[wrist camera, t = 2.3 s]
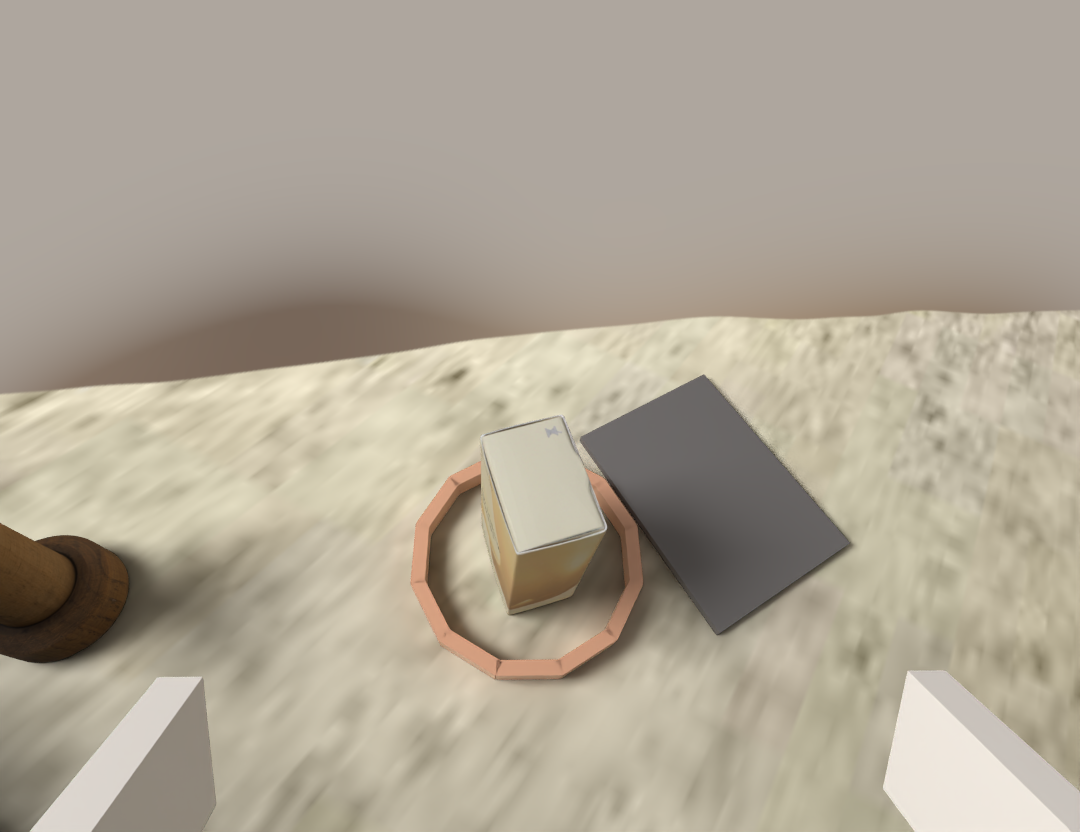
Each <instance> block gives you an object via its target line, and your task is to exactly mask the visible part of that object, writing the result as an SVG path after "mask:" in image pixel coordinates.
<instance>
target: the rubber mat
mask: <svg viewBox="0 0 1080 832" xmlns="http://www.w3.org/2000/svg"><path fill="white" fill-rule="evenodd" d="M580 442H581V443H582V445H583V446H584V448H585V449H586V451H587V452H588V453H589V455H590V456H591V458H592V459H593V460H594V462H595V463H596V465H597V466H598V468H599V469H600V470H601V472H602V473H603V475H604V476H605V477H606V479H607V480H608V482H609V483H610V485H611V486H612V487H613V489H614V490H615V492H616V493H617V494H618V496H619V497H620V499H621V500H622V502H623V503H624V504H625V506H626V507H627V509H628V510H629V512H630V513H631V514H632V516H633V517H634V519H635V520H636V521H637V523H638V524H639V526H640V527H641V529H642V530H643V531H644V533H645V534H646V536H647V537H648V538H649V540H650V541H651V543H652V544H653V546H654V547H655V548H656V550H657V551H658V553H659V554H660V555H661V557H662V558H663V560H664V561H665V563H666V564H667V565H668V567H669V568H670V570H671V571H672V572H673V574H674V575H675V577H676V578H677V580H678V581H679V582H680V584H681V585H682V587H683V588H684V589H685V591H686V592H687V594H688V595H689V597H690V598H691V599H692V601H693V602H694V604H695V605H696V606H697V608H698V609H699V611H700V612H701V614H702V615H703V616H704V618H705V619H706V621H707V622H708V624H709V625H710V626H711V628H712V629H713V631H714V632H715V633H716V635H718V634H719V633H721V632H722V631H724V630H725V629H727V628H728V627H729V626H731V625H732V624H734V623H735V622H737V621H738V620H740V619H741V618H742V617H744V616H745V615H747V614H748V613H750V612H751V611H753V610H754V609H756V608H757V607H758V606H760V605H761V604H763V603H764V602H766V601H767V600H769V599H770V598H771V597H773V596H774V595H776V594H777V593H779V592H780V591H782V590H783V589H784V588H786V587H787V586H789V585H790V584H792V583H793V582H795V581H796V580H797V579H799V578H800V577H802V576H803V575H805V574H806V573H808V572H809V571H810V570H812V569H813V568H815V567H816V566H818V565H819V564H821V563H822V562H824V561H825V560H826V559H828V558H829V557H831V556H832V555H834V554H835V553H837V552H838V551H839V550H841V549H842V548H844V547H845V546H847V545H848V544H850V542H849V541H848V540H847V539H846V538H845V537H844V535H843V534H842V533H841V532H840V531H839V530H838V529H837V527H836V526H835V525H834V524H833V523H832V522H831V520H830V519H829V518H828V517H827V516H826V515H825V514H824V512H823V511H822V510H821V509H820V508H819V507H818V505H817V504H816V503H815V502H814V501H813V500H812V499H811V497H810V496H809V495H808V494H807V493H806V492H805V490H804V489H803V488H802V487H801V486H800V485H799V484H798V482H797V481H796V480H795V479H794V478H793V477H792V475H791V474H790V473H789V472H788V471H787V470H786V469H785V467H784V466H783V465H782V464H781V463H780V462H779V460H778V459H777V458H776V457H775V456H774V455H773V454H772V452H771V451H770V450H769V449H768V448H767V447H766V445H765V444H764V443H763V442H762V441H761V440H760V439H759V437H758V436H757V435H756V434H755V433H754V432H753V430H752V429H751V428H750V427H749V426H748V425H747V424H746V422H745V421H744V420H743V419H742V418H741V417H740V415H739V414H738V413H737V412H736V411H735V410H734V409H733V407H732V406H731V405H730V404H729V403H728V402H727V400H726V399H725V398H724V397H723V396H722V395H721V394H720V392H719V391H718V390H717V389H716V388H715V387H714V385H713V384H712V383H711V382H710V381H709V380H708V379H707V377H706V376H705V375H702V376H700V377H698V378H696V379H694V380H692V381H690V382H688V383H686V384H684V385H682V386H680V387H678V388H676V389H674V390H672V391H670V392H668V393H666V394H664V395H662V396H660V397H658V398H656V399H654V400H653V401H651V402H649V403H647V404H645V405H643V406H641V407H639V408H637V409H635V410H633V411H631V412H629V413H627V414H625V415H623V416H621V417H619V418H617V419H615V420H613V421H611V422H609V423H607V424H605V425H603V426H601V427H599V428H597V429H595V430H593V431H592V432H590V433H588V434H586V435H584V436H582V437H581V438H580Z"/></svg>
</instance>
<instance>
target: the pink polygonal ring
mask: <svg viewBox="0 0 1080 832" xmlns="http://www.w3.org/2000/svg"><path fill="white" fill-rule="evenodd" d="M585 469H586V468H585ZM586 472H587V475H588V477H589V480H590V482H591V485H592V488H593V490H594V493H595V495H596V498H597V501H598V503H599V506H600V507H601V509H602V510H603V512H604V513H605V514H606V516H607V517H608V519H609V520H610V522H611V523H612V525H613V526H614V528H615V529H616V531H617V532H618V534H619V535H620V537H621V548H622V559H623V570H624V581H625V588H624V590H623V592H622V594H621V596H620V598H619V600H618V603H617V605H616V607H615V609H614V611H613V613H612V615H611V617H610V619H609V621H608V624H607V626H606V628H605V630H604V631H602V632H601V633H599V634H598V635H596V636H594V637H593V638H591V639H590V640H588V641H587V642H585V643H583V644H582V645H580V646H579V647H577V648H576V649H574V650H573V651H571V652H569V653H568V654H566V655H565V656H563V657H562V658H560V659H558V660H499V659H497V658H496V657H494V656H492V655H491V654H489V653H487V652H486V651H484V650H483V649H481V648H479V647H478V646H476V645H474V644H473V643H471V642H469V641H468V640H466V639H464V638H463V637H461V636H460V635H458V634H456V633H455V632H453V631H451V630H450V629H449V627H448V625H447V623H446V621H445V619H444V617H443V615H442V613H441V611H440V609H439V607H438V605H437V603H436V601H435V599H434V597H433V595H432V593H431V591H430V589H429V587H428V585H427V583H428V570H429V557H430V544H431V535H432V533H433V532H434V531H435V529H436V528H437V526H438V525H439V523H440V522H441V520H442V519H443V517H444V516H445V515H446V513H447V512H448V510H449V509H450V507H451V506H452V504H453V503H454V501H455V500H456V499H457V497H458V496H459V494H461V493H463V492H465V491H467V490H469V489H471V488H473V487H475V486H477V485H479V484H481V461H480V462H478V463H476V464H474V465H472V466H470V467H468V468H465V469H463V470H461V471H459V472H457V473H455V474H453V475H451V476H450V477H449V478H448V479H447V480H446V482H445V483H444V485H443V486H442V487H441V489H440V490H439V492H438V493H437V494H436V496H435V497H434V499H433V500H432V502H431V503H430V504H429V506H428V507H427V509H426V510H425V511H424V513H423V514H422V516H421V517H420V518H419V520H418V521H417V523H416V528H415V539H414V550H413V561H412V572H411V586H412V588H413V591H414V593H415V595H416V597H417V599H418V601H419V603H420V605H421V607H422V609H423V611H424V613H425V615H426V617H427V619H428V621H429V623H430V625H431V627H432V629H433V631H434V633H435V635H436V637H437V639H438V641H439V644H440V646H442V647H443V648H445V649H446V650H448V651H450V652H451V653H453V654H455V655H456V656H458V657H459V658H461V659H463V660H464V661H466V662H467V663H469V664H471V665H472V666H474V667H476V668H477V669H479V670H480V671H482V672H484V673H485V674H487V675H488V676H490V677H492V678H493V679H496V680H526V679H561V678H563V677H564V676H566V675H567V674H569V673H570V672H572V671H573V670H575V669H577V668H578V667H580V666H581V665H583V664H584V663H586V662H587V661H589V660H590V659H592V658H593V657H595V656H596V655H598V654H600V653H601V652H603V651H604V650H606V649H607V648H609V647H610V646H612V645H613V644H614V643H615V642H616V641H617V640H618V638H619V635H620V633H621V631H622V629H623V627H624V625H625V622H626V620H627V618H628V616H629V614H630V612H631V609H632V607H633V605H634V603H635V601H636V599H637V596H638V594H639V592H640V590H641V588H642V586H643V574H642V564H641V555H640V546H639V536H638V527H637V524H636V522H635V521H634V519H633V518H632V517H631V515H630V514H629V512H628V511H627V510H626V508H625V507H624V505H623V504H622V502H621V501H620V500H619V498H618V497H617V495H616V494H615V493H614V491H613V490H612V488H611V487H610V485H609V484H608V483H607V481H606V480H605V479H604V478H603V477H601V476H599V475H597V474H595V473H593V472H591V471H590V470H588V469H586Z"/></svg>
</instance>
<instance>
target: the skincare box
mask: <svg viewBox="0 0 1080 832" xmlns="http://www.w3.org/2000/svg"><path fill="white" fill-rule="evenodd" d="M480 445H481V500H482V504H481V508H482V529H483V533H484V537H485V541H486V545H487V549H488V553H489V557H490V560H491V564H492V567H493V571H494V574H495V578H496V581H497V584H498V587H499V590H500V593H501V596H502V599H503V602H504V606H505V609H506V612H507V614H508V615H511V614H515V613H519V612H522V611H526V610H530V609H533V608H537V607H540V606H543V605H547V604H550V603H553V602H556V601H559V600H562V599H565V598H568V597H571V596H572V595H573V593H574V591H575V589H576V588H577V586H578V584H579V582H580V580H581V578H582V576H583V574H584V572H585V571H586V569H587V567H588V565H589V563H590V561H591V559H592V557H593V555H594V554H595V552H596V550H597V548H598V546H599V544H600V542H601V540H602V538H603V537H604V535H605V533H606V531H607V524H606V522H605V519H604V516H603V514H602V511H601V508H600V506H599V503H598V501H597V498H596V495H595V493H594V490H593V488H592V485H591V482H590V480H589V477H588V475H587V472H586V469H585V467H584V464H583V462H582V460H581V457H580V455H579V453H578V450H577V447H576V445H575V442H574V440H573V437H572V435H571V432H570V430H569V427H568V425H567V422H566V420H565V417H564V416H563V415H557V416H553V417H549V418H544V419H540V420H535V421H531V422H527V423H523V424H519V425H514V426H511V427H507V428H503V429H499V430H496V431H493V432H489V433H486V434H483V435H481V437H480Z"/></svg>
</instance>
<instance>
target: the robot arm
mask: <svg viewBox="0 0 1080 832" xmlns="http://www.w3.org/2000/svg"><path fill="white" fill-rule="evenodd" d="M883 789H884V791H885V792H886V793H887V795H888V796H889V797H890V799H891V800H892V801H893V803H894V804H895V805H896V807H897V808H898V810H899V811H900V812H901V814H902V815H903V816H904V818H905V819H906V820H907V822H908V823H909V824H910V826H911V827H912V828H913V830H914V831H915V832H1080V791H1079V790H1078V789H1076V788H1075V787H1074V786H1073V785H1072V784H1071V783H1070V782H1069V781H1068V780H1066V779H1065V778H1064V777H1063V776H1062V775H1061V774H1060V773H1059V772H1058V771H1056V770H1055V769H1054V768H1053V767H1052V766H1051V765H1050V764H1049V763H1048V762H1046V761H1045V760H1044V759H1043V758H1042V757H1041V756H1040V755H1039V754H1038V753H1036V752H1035V751H1034V750H1033V749H1032V748H1031V747H1030V746H1029V745H1028V744H1026V743H1025V742H1024V741H1023V740H1022V739H1021V738H1020V737H1019V736H1018V735H1016V734H1015V733H1014V732H1013V731H1012V730H1011V729H1010V728H1009V727H1008V726H1006V725H1005V724H1004V723H1003V722H1002V721H1001V720H1000V719H999V718H998V717H996V716H995V715H994V714H993V713H992V712H991V711H990V710H989V709H988V708H986V707H985V706H984V705H983V704H982V703H981V702H980V701H979V700H978V699H976V698H975V697H974V696H973V695H972V694H971V693H970V692H969V691H968V690H966V689H965V688H964V687H963V686H962V685H961V684H960V683H959V682H958V681H956V680H955V679H954V678H953V677H952V676H951V675H950V674H949V673H948V672H946V671H945V670H929V671H908V672H907V677H906V681H905V686H904V691H903V696H902V700H901V705H900V710H899V714H898V719H897V724H896V729H895V733H894V738H893V743H892V748H891V752H890V757H889V762H888V766H887V771H886V776H885V781H884V785H883ZM215 806H216V798H215V788H214V779H213V769H212V760H211V750H210V740H209V731H208V721H207V712H206V702H205V692H204V683H203V677H157V678H156V680H155V681H154V682H153V683H152V685H151V686H150V687H149V688H148V689H147V691H146V692H145V693H144V694H143V695H142V697H141V698H140V699H139V700H138V701H137V703H136V704H135V705H134V706H133V707H132V709H131V710H130V711H129V712H128V713H127V715H126V716H125V717H124V718H123V719H122V721H121V722H120V723H119V724H118V725H117V727H116V728H115V729H114V730H113V732H112V733H111V734H110V735H109V736H108V738H107V739H106V740H105V741H104V742H103V744H102V745H101V746H100V747H99V748H98V750H97V751H96V752H95V753H94V754H93V756H92V757H91V758H90V759H89V760H88V762H87V763H86V764H85V765H84V766H83V768H82V769H81V770H80V771H79V772H78V774H77V775H76V776H75V777H74V778H73V780H72V781H71V782H70V783H69V785H68V786H67V787H66V788H65V789H64V791H63V792H62V793H61V794H60V795H59V797H58V798H57V799H56V800H55V801H54V803H53V804H52V805H51V806H50V807H49V809H48V810H47V811H46V812H45V813H44V815H43V816H42V817H41V818H40V819H39V821H38V822H37V823H36V824H35V825H34V827H33V828H32V829H31V830H30V832H202V830H203V828H204V827H205V825H206V823H207V821H208V819H209V817H210V815H211V813H212V811H213V809H214V807H215Z"/></svg>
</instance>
